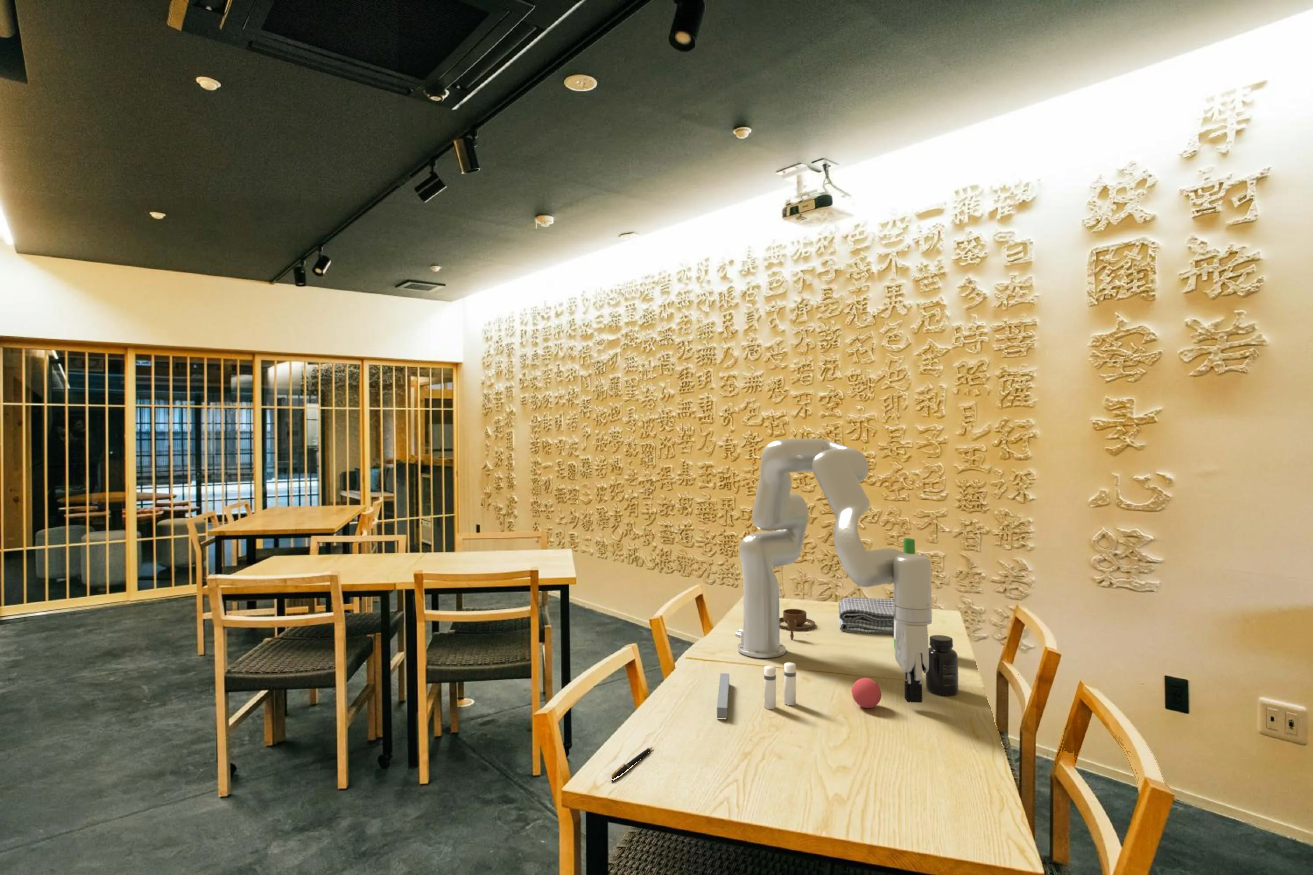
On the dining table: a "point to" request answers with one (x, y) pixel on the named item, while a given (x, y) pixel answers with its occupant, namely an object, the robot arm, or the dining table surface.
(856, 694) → the ball
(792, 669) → the pin
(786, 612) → the place setting
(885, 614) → the towel
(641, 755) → the fountain pen
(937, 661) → the supplement bottle
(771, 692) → the pin
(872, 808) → the dining table surface
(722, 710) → the gray square bar
